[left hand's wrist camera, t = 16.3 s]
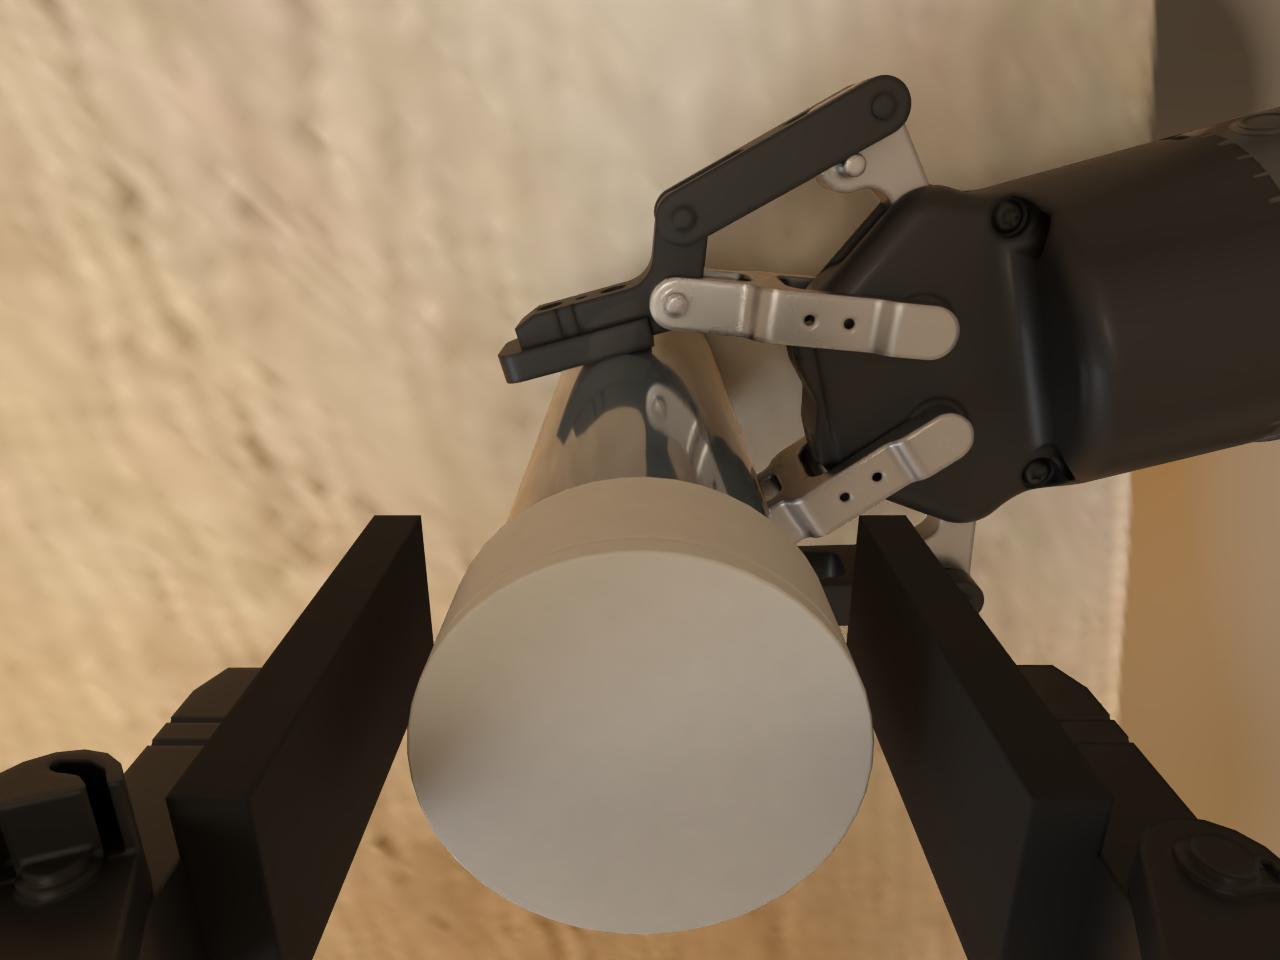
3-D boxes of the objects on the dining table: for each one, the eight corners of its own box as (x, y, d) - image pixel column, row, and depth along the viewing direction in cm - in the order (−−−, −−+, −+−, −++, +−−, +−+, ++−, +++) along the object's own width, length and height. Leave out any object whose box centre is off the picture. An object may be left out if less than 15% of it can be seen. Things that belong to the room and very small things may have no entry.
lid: (911, 599, 12) (972, 699, 10) (695, 859, 14) (706, 994, 12) (571, 398, 11) (554, 458, 9) (383, 705, 13) (329, 821, 11)
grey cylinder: (692, 461, 29) (766, 907, 12) (551, 427, 29) (416, 837, 11) (734, 322, 27) (892, 605, 10) (584, 283, 27) (486, 508, 10)
